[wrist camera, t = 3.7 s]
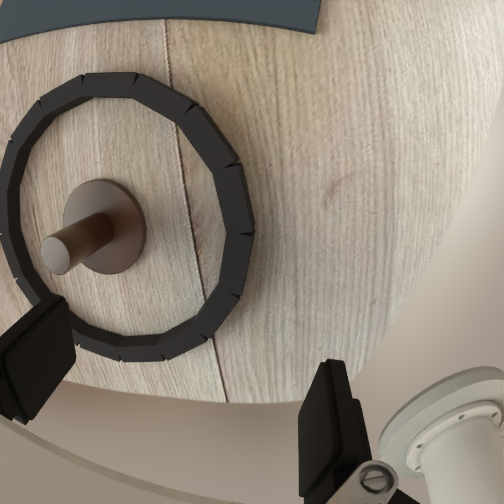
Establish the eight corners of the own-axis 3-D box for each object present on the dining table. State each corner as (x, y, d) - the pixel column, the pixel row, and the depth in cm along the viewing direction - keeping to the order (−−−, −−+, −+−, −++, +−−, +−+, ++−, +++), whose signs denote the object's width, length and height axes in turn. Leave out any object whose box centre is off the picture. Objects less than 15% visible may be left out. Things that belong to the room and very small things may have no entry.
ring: (282, 91, 17) (282, 87, 16) (226, 377, 25) (223, 390, 24) (17, 82, 18) (4, 81, 16) (20, 310, 26) (11, 318, 24)
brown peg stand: (150, 186, 20) (104, 205, 15) (143, 280, 23) (105, 323, 17) (68, 173, 20) (13, 189, 15) (68, 260, 23) (22, 292, 17)
